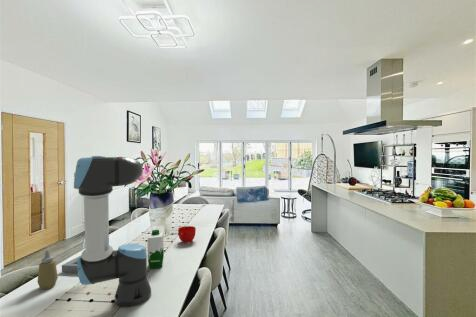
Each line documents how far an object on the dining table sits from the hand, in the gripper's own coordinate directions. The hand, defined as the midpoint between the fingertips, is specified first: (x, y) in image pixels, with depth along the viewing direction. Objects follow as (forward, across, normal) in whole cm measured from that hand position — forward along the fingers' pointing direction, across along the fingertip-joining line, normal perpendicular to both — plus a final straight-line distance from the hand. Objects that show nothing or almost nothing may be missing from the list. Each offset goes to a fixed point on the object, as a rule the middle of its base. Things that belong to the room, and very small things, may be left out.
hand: (99, 225), depth 140 cm
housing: (+25, +17, -2) cm, 31 cm away
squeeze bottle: (+26, +6, +22) cm, 35 cm away
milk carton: (+26, -18, -23) cm, 39 cm away
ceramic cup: (+26, -2, -61) cm, 66 cm away
